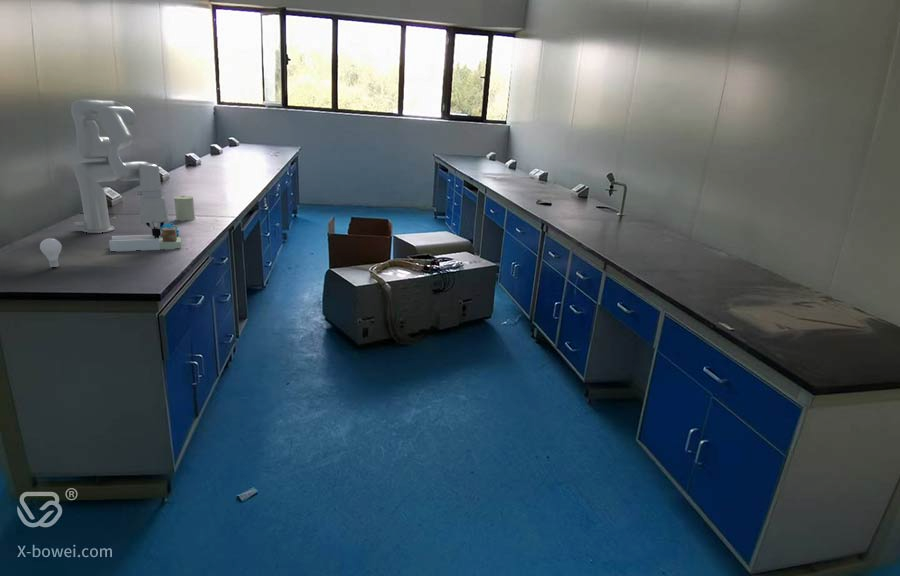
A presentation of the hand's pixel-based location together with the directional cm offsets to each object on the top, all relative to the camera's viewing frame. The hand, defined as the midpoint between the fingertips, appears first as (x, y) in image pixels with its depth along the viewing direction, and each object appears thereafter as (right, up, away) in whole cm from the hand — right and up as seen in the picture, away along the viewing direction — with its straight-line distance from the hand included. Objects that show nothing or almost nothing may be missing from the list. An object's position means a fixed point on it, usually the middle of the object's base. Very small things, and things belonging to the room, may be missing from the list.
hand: (156, 237), depth 228 cm
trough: (-4, -4, 0) cm, 6 cm away
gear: (-5, +2, +21) cm, 21 cm away
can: (-15, +15, +54) cm, 58 cm away
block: (+5, -1, +2) cm, 5 cm away
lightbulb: (-20, -14, -32) cm, 40 cm away
